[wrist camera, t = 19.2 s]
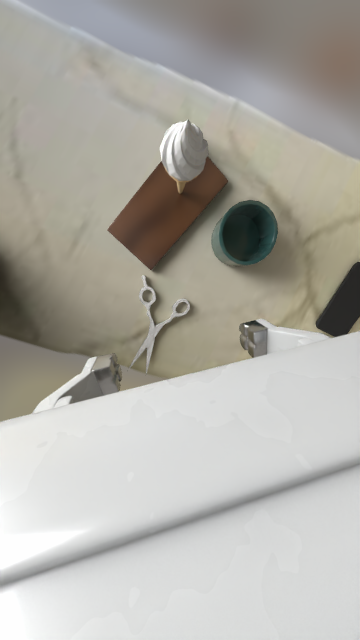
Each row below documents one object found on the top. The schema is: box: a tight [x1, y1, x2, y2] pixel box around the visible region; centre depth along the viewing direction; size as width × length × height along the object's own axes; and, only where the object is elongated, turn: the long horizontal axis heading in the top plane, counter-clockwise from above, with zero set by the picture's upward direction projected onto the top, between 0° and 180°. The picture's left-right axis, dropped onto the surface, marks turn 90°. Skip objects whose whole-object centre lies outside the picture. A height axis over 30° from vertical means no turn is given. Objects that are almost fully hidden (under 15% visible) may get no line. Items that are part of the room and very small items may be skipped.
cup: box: [211, 200, 278, 266], centre depth 32 cm, size 10×10×6 cm
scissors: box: [128, 275, 190, 374], centre depth 38 cm, size 11×1×20 cm
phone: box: [316, 262, 360, 337], centre depth 39 cm, size 7×1×15 cm
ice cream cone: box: [160, 120, 209, 193], centre depth 24 cm, size 6×6×15 cm
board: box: [107, 156, 228, 270], centre depth 32 cm, size 10×20×1 cm, turn 137°
